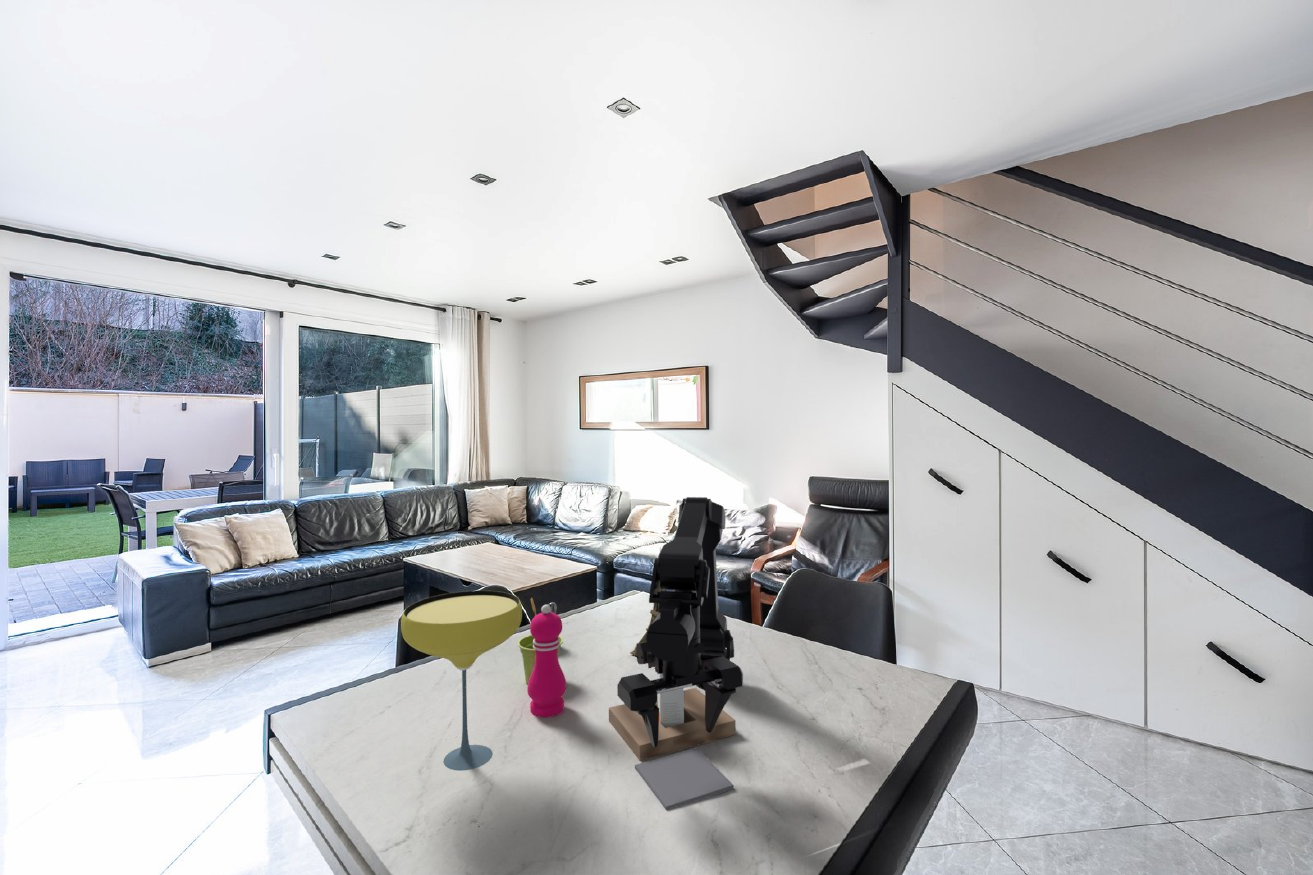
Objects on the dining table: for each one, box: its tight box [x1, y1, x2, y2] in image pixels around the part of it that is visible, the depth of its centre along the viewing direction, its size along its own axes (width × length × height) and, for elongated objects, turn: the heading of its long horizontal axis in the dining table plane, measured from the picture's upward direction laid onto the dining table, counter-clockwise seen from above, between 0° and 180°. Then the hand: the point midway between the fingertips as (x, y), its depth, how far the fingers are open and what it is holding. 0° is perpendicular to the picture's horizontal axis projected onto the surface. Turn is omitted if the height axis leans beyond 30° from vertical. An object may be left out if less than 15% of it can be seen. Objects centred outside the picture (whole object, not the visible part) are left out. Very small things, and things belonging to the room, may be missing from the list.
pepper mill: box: [527, 604, 567, 718], centre depth 107 cm, size 7×7×20 cm
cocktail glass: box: [400, 590, 523, 772], centre depth 90 cm, size 18×18×25 cm
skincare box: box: [656, 672, 684, 728], centre depth 100 cm, size 6×4×12 cm
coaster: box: [634, 747, 735, 811], centre depth 85 cm, size 11×11×1 cm
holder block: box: [608, 687, 737, 762], centre depth 100 cm, size 18×14×2 cm
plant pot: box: [517, 634, 564, 685], centre depth 119 cm, size 9×9×9 cm
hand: (682, 738), depth 85 cm, fingers open, 9 cm apart
